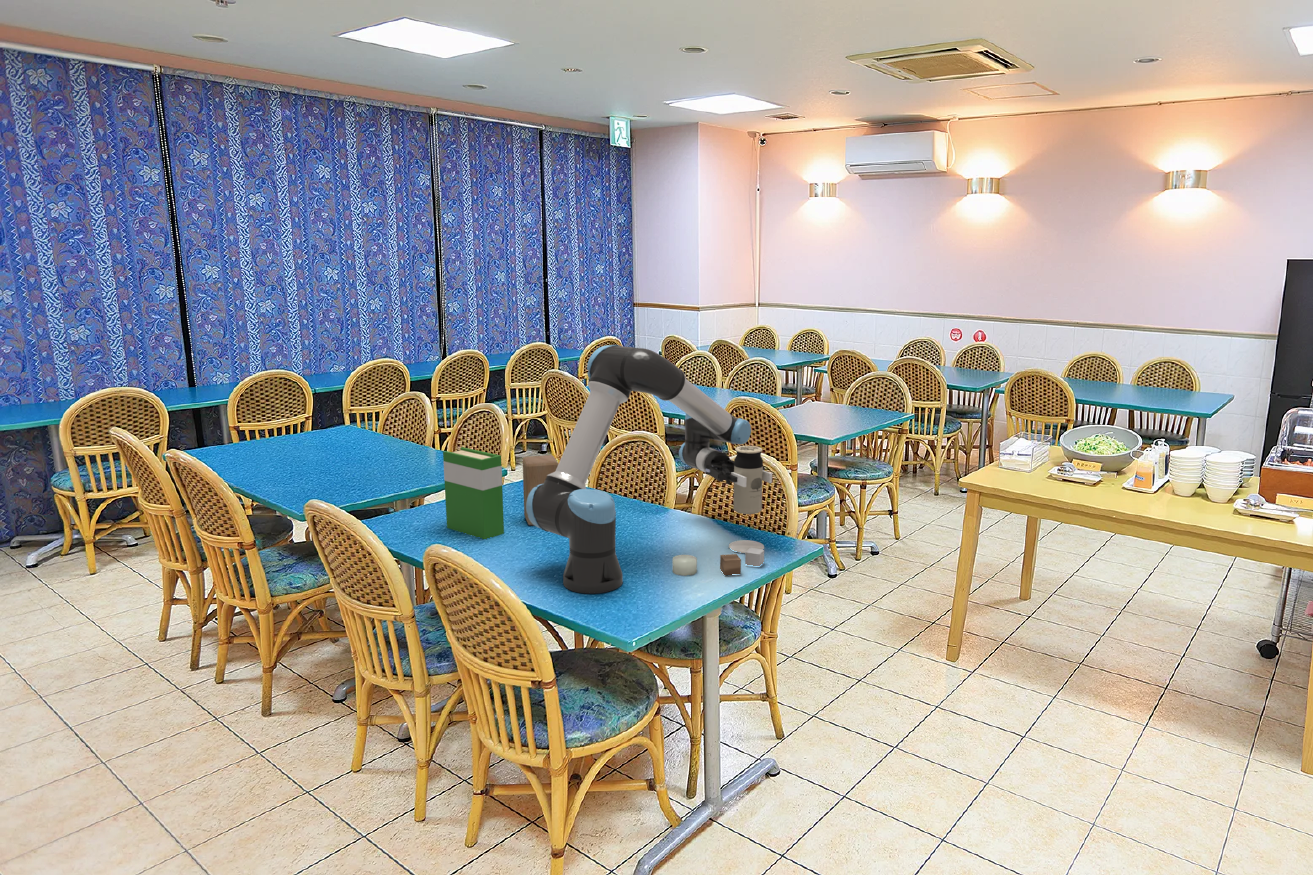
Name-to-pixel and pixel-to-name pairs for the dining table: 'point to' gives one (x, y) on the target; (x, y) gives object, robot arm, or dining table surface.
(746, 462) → the travel mug
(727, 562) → the walnut block
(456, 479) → the hardback book
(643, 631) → the dining table surface
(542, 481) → the block
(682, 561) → the beige rounded cylinder
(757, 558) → the grey cube
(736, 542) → the saucer
